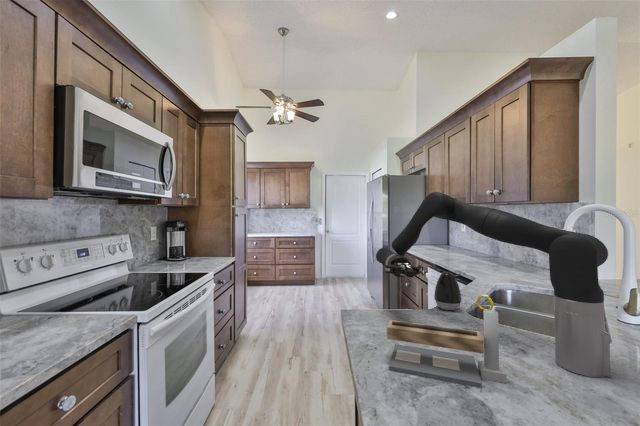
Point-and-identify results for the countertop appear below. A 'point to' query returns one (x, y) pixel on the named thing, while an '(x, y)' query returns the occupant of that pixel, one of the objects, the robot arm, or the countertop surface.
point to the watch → (488, 299)
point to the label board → (454, 360)
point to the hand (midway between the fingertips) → (411, 274)
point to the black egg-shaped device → (447, 291)
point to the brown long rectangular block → (436, 336)
